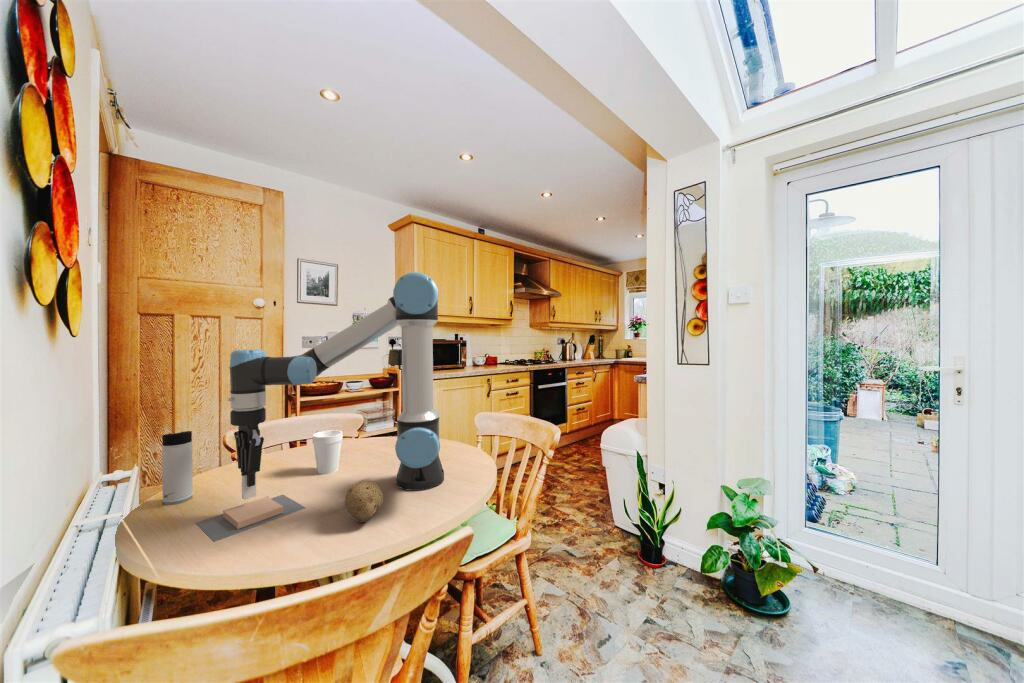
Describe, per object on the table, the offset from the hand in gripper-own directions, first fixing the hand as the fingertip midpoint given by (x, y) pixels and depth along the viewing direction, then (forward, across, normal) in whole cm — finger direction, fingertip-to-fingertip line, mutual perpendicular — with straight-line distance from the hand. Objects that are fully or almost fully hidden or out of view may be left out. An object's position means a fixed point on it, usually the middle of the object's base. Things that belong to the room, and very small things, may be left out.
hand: (249, 497), depth 96 cm
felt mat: (+4, +2, 0) cm, 5 cm away
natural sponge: (+5, +28, +16) cm, 32 cm away
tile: (+3, -2, 0) cm, 4 cm away
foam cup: (+5, -14, +28) cm, 31 cm away
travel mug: (+5, -24, -9) cm, 27 cm away
